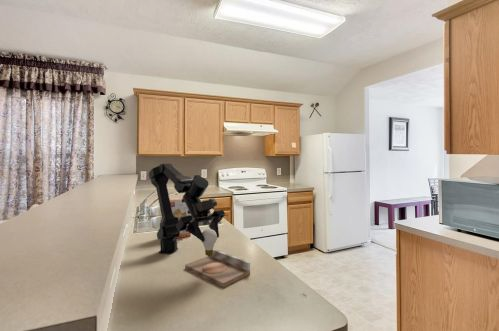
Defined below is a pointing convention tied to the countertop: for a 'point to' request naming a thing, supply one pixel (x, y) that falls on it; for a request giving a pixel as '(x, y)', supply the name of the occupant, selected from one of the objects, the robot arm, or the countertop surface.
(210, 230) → the light bulb
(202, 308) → the countertop surface
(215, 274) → the board
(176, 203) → the cracker box
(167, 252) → the robot arm
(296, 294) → the countertop surface
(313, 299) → the countertop surface
